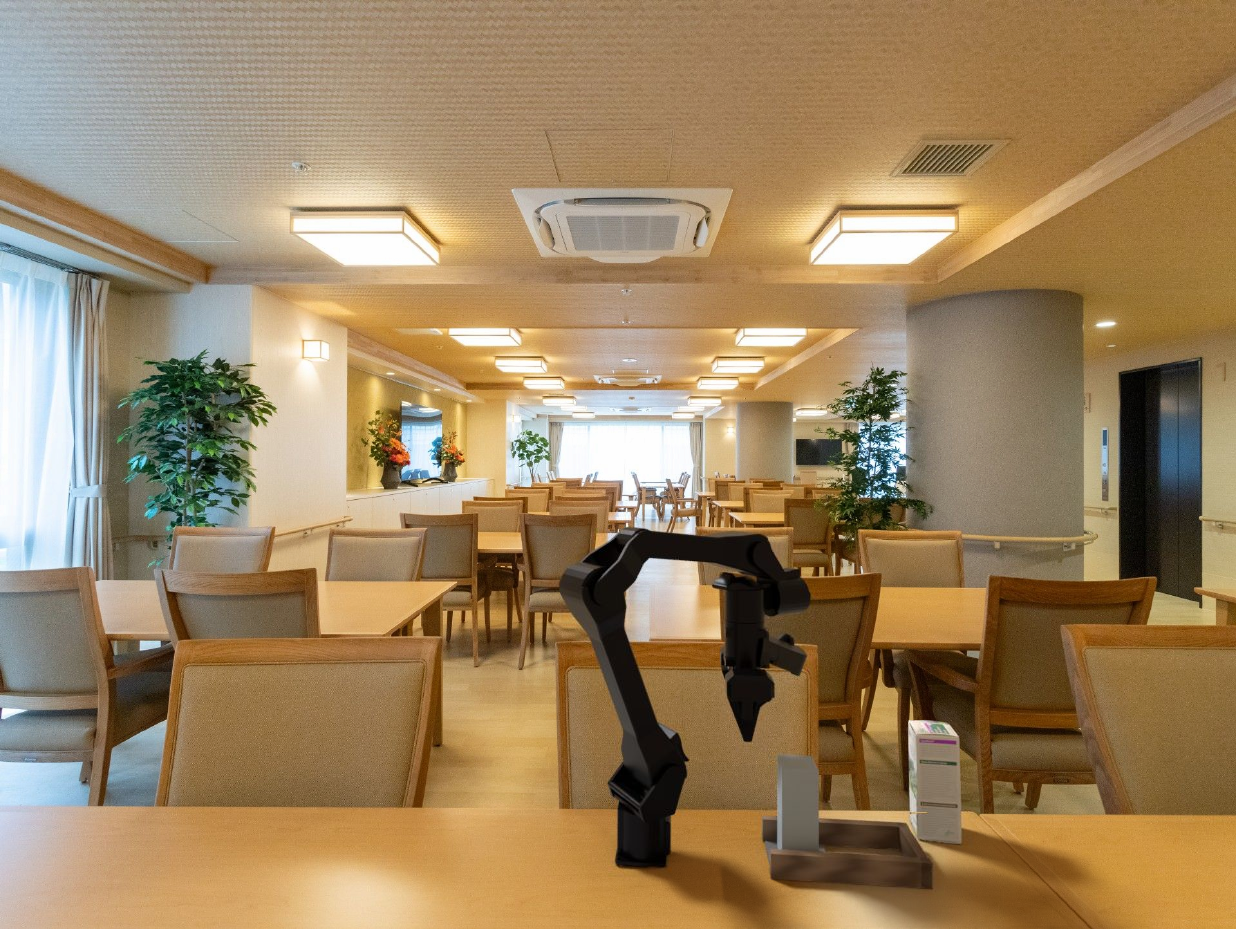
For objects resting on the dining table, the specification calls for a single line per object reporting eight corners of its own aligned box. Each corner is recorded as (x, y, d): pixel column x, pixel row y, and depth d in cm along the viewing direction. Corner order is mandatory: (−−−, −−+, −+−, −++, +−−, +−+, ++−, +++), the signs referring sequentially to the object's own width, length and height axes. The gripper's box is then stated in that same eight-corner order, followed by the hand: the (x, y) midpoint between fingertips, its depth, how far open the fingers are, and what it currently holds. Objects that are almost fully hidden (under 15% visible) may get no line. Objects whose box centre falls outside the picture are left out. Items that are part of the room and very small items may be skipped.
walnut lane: (770, 878, 84) (770, 853, 84) (761, 837, 94) (761, 815, 94) (932, 888, 83) (932, 863, 83) (906, 845, 92) (906, 822, 92)
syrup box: (963, 845, 93) (962, 735, 93) (916, 840, 94) (915, 732, 94) (951, 824, 98) (951, 721, 99) (907, 820, 99) (907, 718, 100)
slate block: (781, 864, 87) (782, 768, 87) (777, 846, 91) (777, 754, 92) (818, 867, 86) (818, 770, 87) (812, 848, 91) (812, 756, 91)
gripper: (814, 635, 89) (814, 758, 89) (792, 609, 108) (792, 710, 107) (727, 633, 90) (727, 754, 90) (719, 607, 109) (719, 707, 108)
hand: (744, 729), depth 99 cm, fingers open, 9 cm apart
